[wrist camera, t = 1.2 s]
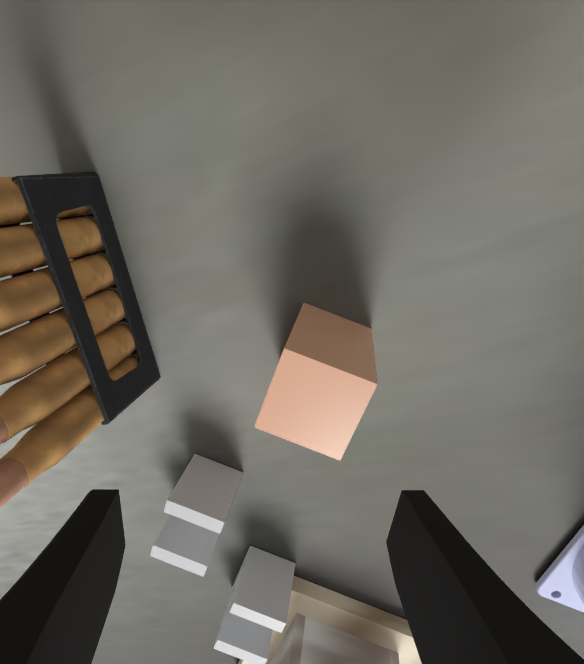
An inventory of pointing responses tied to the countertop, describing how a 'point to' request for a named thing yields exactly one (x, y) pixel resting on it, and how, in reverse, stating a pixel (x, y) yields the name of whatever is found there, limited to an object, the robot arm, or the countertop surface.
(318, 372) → the orange rectangular block
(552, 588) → the robot arm
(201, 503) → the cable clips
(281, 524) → the countertop surface
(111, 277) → the ammunition clip
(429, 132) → the countertop surface
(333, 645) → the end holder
